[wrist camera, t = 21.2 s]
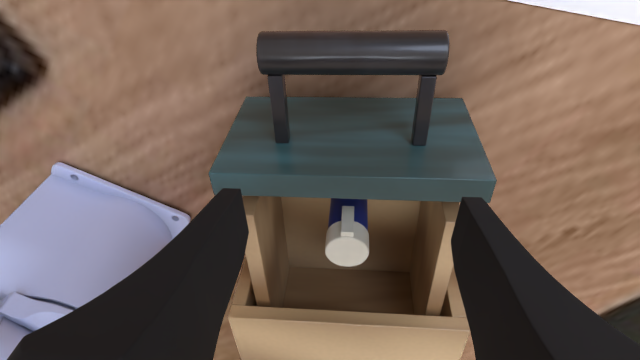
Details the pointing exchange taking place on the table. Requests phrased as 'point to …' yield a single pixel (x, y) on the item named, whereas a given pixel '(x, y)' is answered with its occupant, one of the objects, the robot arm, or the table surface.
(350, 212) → the pen
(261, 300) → the drawer
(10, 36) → the table surface
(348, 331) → the cabinet
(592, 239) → the table surface
